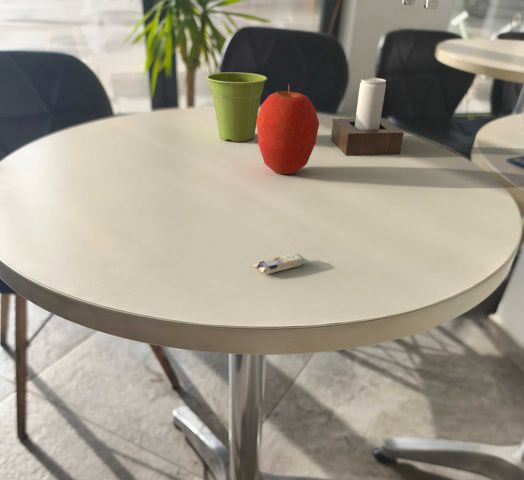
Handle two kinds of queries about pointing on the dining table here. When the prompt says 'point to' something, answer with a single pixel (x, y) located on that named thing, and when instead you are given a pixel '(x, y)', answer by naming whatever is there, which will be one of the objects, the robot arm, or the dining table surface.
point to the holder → (366, 138)
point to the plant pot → (236, 103)
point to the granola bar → (280, 263)
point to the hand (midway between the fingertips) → (418, 6)
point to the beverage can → (370, 103)
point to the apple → (287, 131)
